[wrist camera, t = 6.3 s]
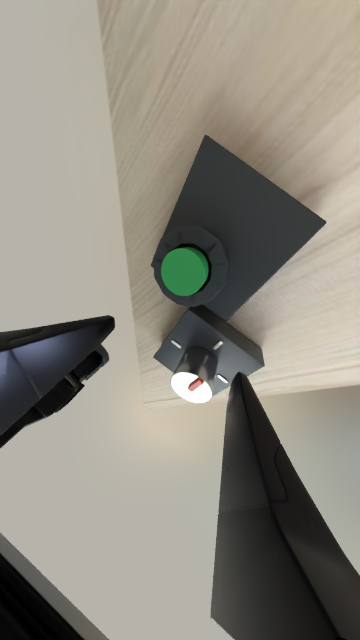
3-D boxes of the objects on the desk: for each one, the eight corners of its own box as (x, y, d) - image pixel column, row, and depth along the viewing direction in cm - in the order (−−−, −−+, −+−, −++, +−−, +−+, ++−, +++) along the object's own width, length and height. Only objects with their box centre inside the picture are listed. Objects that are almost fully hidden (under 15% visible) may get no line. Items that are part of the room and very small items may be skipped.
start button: (163, 275, 14) (154, 279, 12) (181, 237, 12) (173, 237, 10) (193, 297, 14) (188, 304, 12) (217, 264, 12) (214, 267, 10)
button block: (157, 268, 17) (138, 275, 14) (210, 150, 11) (198, 113, 8) (223, 317, 17) (219, 335, 14) (313, 225, 11) (344, 218, 8)
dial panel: (162, 344, 23) (152, 357, 21) (195, 299, 18) (187, 309, 15) (211, 381, 23) (207, 399, 21) (261, 348, 17) (265, 367, 15)
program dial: (203, 379, 19) (195, 410, 16) (177, 359, 19) (162, 386, 16) (225, 363, 17) (221, 396, 13) (194, 340, 17) (182, 367, 13)
